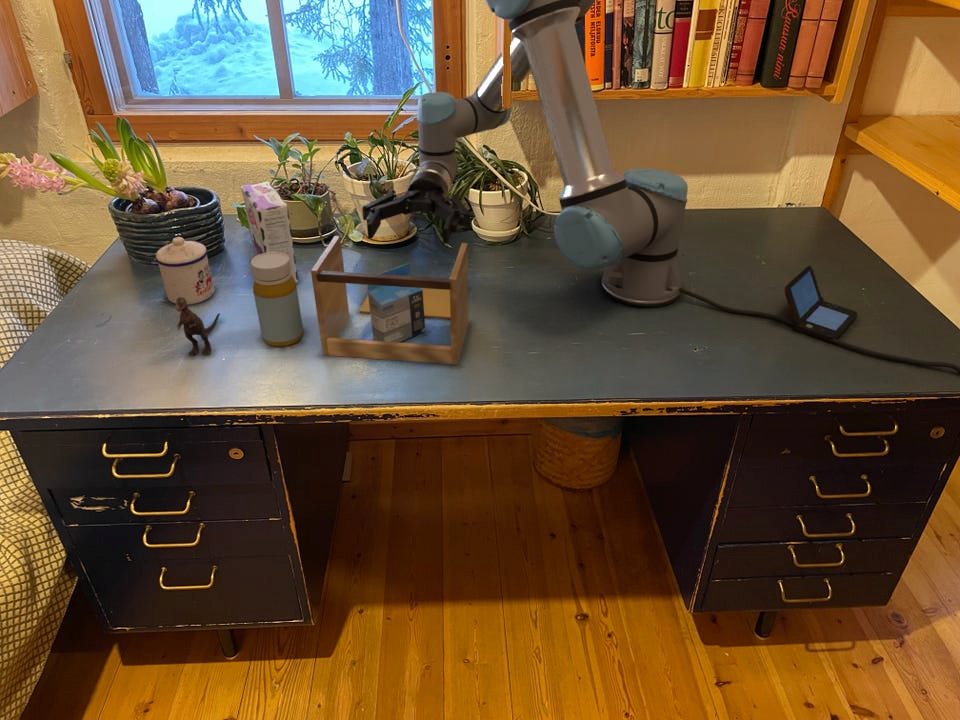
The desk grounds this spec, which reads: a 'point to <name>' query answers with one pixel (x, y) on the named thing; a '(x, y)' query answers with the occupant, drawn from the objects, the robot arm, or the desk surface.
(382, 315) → the label tape box
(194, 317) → the dinosaur model
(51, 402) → the desk surface
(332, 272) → the frame
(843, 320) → the handheld console
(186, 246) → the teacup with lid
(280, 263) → the bottle
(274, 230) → the candy box
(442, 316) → the felt pad
